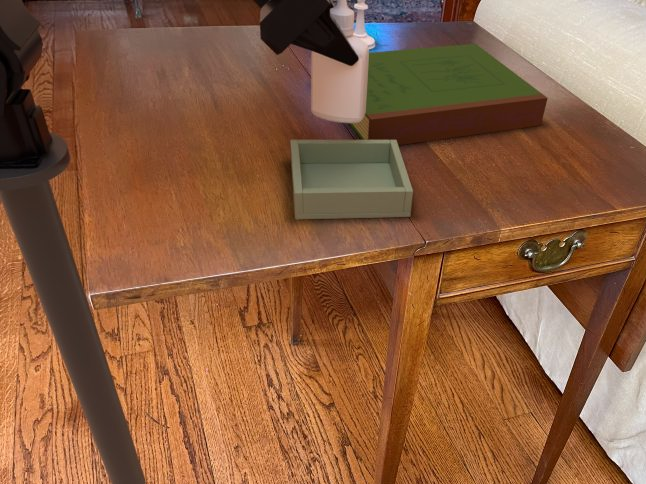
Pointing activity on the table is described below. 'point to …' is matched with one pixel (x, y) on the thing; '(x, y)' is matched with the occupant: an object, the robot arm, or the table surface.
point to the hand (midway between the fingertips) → (353, 54)
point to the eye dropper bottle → (340, 76)
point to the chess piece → (362, 25)
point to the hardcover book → (444, 95)
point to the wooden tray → (349, 179)
